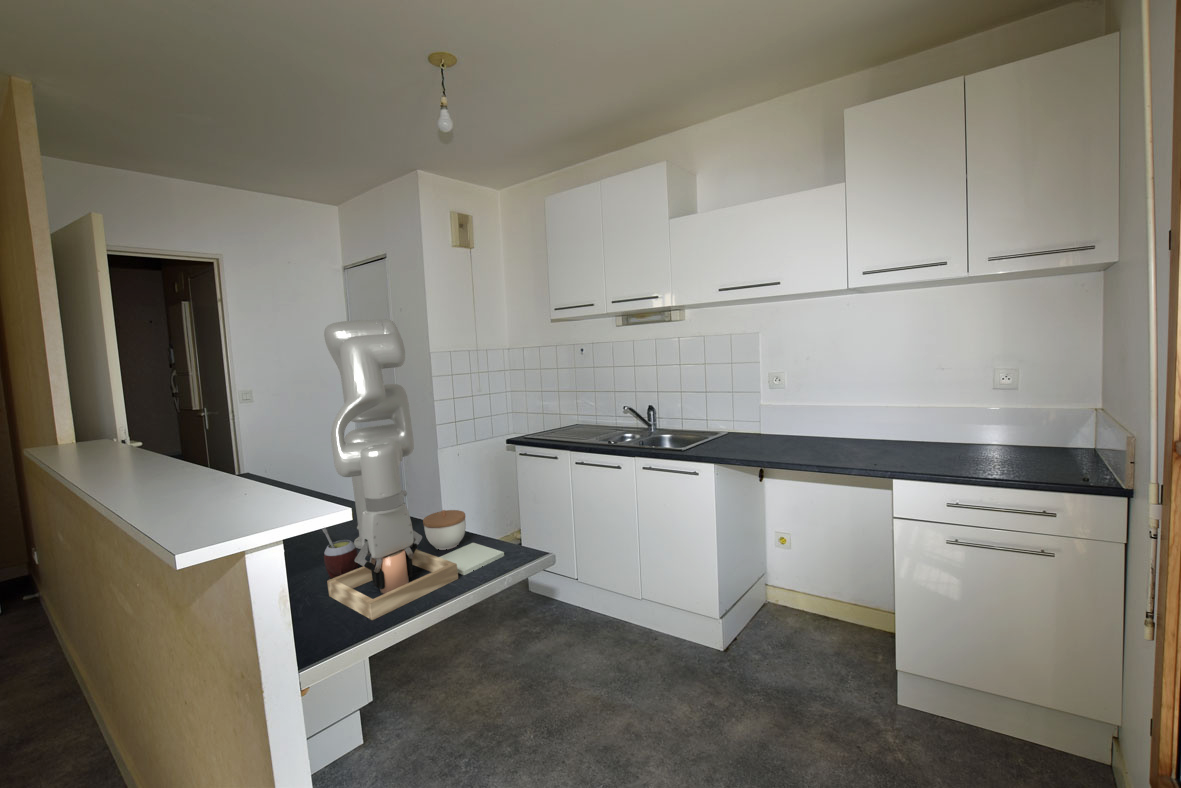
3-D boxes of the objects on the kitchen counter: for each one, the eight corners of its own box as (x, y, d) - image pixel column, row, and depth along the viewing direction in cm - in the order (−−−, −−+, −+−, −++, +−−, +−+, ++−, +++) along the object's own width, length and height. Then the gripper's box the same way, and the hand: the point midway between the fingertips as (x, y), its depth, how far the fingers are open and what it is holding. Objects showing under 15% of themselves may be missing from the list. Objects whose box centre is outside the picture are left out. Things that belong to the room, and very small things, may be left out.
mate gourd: (360, 567, 130) (352, 508, 129) (358, 580, 123) (350, 517, 121) (326, 574, 128) (318, 513, 126) (322, 588, 121) (313, 524, 119)
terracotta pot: (375, 589, 118) (370, 554, 117) (399, 578, 123) (395, 544, 122) (389, 596, 114) (385, 560, 113) (414, 585, 119) (410, 550, 118)
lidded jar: (457, 553, 134) (453, 517, 133) (418, 553, 137) (414, 517, 136) (474, 537, 145) (471, 503, 144) (438, 537, 147) (434, 504, 146)
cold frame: (329, 596, 116) (327, 580, 116) (412, 561, 132) (410, 547, 132) (372, 620, 105) (370, 603, 104) (458, 578, 120) (456, 563, 120)
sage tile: (433, 563, 129) (433, 559, 129) (473, 546, 139) (472, 542, 138) (464, 575, 122) (463, 571, 122) (504, 555, 131) (503, 552, 131)
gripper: (410, 488, 125) (418, 562, 127) (336, 511, 112) (347, 593, 114) (428, 493, 120) (437, 569, 122) (354, 517, 107) (365, 602, 109)
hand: (393, 580), depth 118 cm, fingers closed on terracotta pot, 6 cm apart
